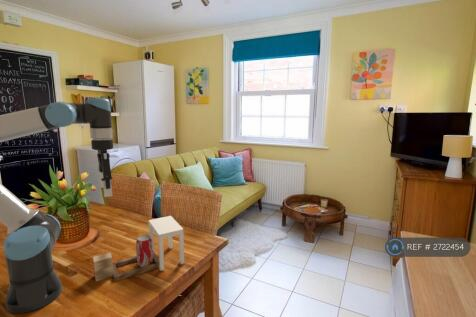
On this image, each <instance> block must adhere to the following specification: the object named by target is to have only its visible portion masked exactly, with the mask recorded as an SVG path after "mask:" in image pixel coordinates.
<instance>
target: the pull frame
mask: <svg viewBox="0 0 476 317" xmlns="http://www.w3.org/2000/svg"><path fill="white" fill-rule="evenodd" d="M92 259H93V270H94V280H95V282H99V281H103V280H106V279H109V278H112V277H113V280H114V282H116V281H120V280H123V279H128V278H131V277H132V276H136V275H140V274H143V273H146V272H148V271H152V270H156V269H159V257H158V256H157V254H156V253H155V250H154V251H153V263H152V264H151V265H147V266H144V267H138V268H135V269H131V270H128V271H125V272H121V273H119V271H118V269H117V267H121V266H124V265H128V264H131V263H134V262H137V255H135V256H132V257H127V258H124V259H121V260H117V261H113V256H112V253H111V252H107V253H103V254H99V255H95V256H93V257H92Z"/></svg>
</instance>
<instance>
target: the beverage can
mask: <svg viewBox="0 0 476 317" xmlns="http://www.w3.org/2000/svg"><path fill="white" fill-rule="evenodd" d="M135 249H136V256H137V261H136V263H137V264H136V265H137V267H138V268H141V267H144V266H147V265H151V264H154V263H153V249H152V239H151V238H150V236H149V234H142V235H140V236H138V237H137V239H136V242H135Z"/></svg>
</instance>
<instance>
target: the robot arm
mask: <svg viewBox="0 0 476 317" xmlns="http://www.w3.org/2000/svg"><path fill="white" fill-rule="evenodd" d="M110 103H111V101H110V100H109V99H108V98H104V97H102V98H101V97H89V98H87V101H86V102H85V103H83V102H82V103H81V102H79V103H78V102H75V103H74V102H64V101H55V102H51V103H49V104H45V105H42V106H36V107H32V108H28V109H27V108H26V109H22V110H18V111H13V112H9V113H3V114H0V143H2V142H8V141H11V140H15V139H19V138H23V137H27V136H31V135H36V134H38V133H42V132H46V131H49V130H50V131H51V130H55V129H58V128H59V129H60V128H66V127H70V126H71V125H74V124H75V125H76V124H78V125H79V124H85V125H86V124H87V125H88V124H89V135H90V139H92V140H91V141H90V144H91V149H92V150H93V151H97V154H96V155H97V162H98V171H99V184H100V188H101V189H102V188H103V194H104V198H107V197H113V184H112V179H113V177H112V171H111V170H112V169H111V162H110V158H111V155H110V154H109V153H108V150H112V149H114V140H113V139H112V138H113V133H114V129H112V128H113V125H112V122H113V121H112V110H111V109H112V108H111V104H110ZM0 223H2V224H3V225H4V226H5V227H6V228H7V232H6V234H7V236H6V237H5V239H4V241H3V254H4V256H5V257H4V258H5V263H6V269H7V276H8V279H9V285H8V289H7V293H6V297H5V301H4V302H5V308H6V311H7V312H8V313H12V314H25V313H29V312H33V311H36V310H39V309H41V308H43V307H46V306H48V305H49V304H50V303H52V302H54V301H55V300H56V299H57V298H58V297H59V296H60V294H61V293H62V291H63V286H62V281H61V279H60V277H59V276H58V275H57V273H56V271H55V269H54V264H53V263H54V262H53V255H52V251H53V249H54V246H55V244H56V243H57V240H58V239H59V237H60V235H61V224H60V221H59V219H58V218H57V217H56V216H54V215H52V214H48V213H47V214H45V213H43V212H42V211H41V210H40V209H32V208H30V207H29V206H28V205H27V204H25V203H24V202H23V201H22V200H21V199H20V198H18V197H17V196H16V195H15V194H14V193H13V192H11V191H10V190H9V189H8V188H6V186H4V185H3V184H2V183H1V182H0Z"/></svg>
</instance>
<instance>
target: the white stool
mask: <svg viewBox="0 0 476 317" xmlns="http://www.w3.org/2000/svg"><path fill="white" fill-rule="evenodd" d="M148 235H149V236H150V238H151V239H152V249H153V251H154V252H155V238H154V236H156V237H157V241H158V244H157V245H158V259H159V268H158V269H159V271H161V272H162V271H164V270H165V254H164V252H165V251H164V239H167V238H168V239H167V240H168V249H173V248H174V245H173V243H174V242H173V241H174V239H173V237H175V236H178V245H179V246H178V249H179V250H178V253H179V254H178V255H179V264H180V265H184V264H185V236H184V235H185V234H184V228H183V227H182V225H180V223H179V222H177V220H176V219H175V218H174V217H173V216H172V215H167V216H163V217H159V218H158V217H157V218H153V219H149V220H148Z"/></svg>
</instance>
